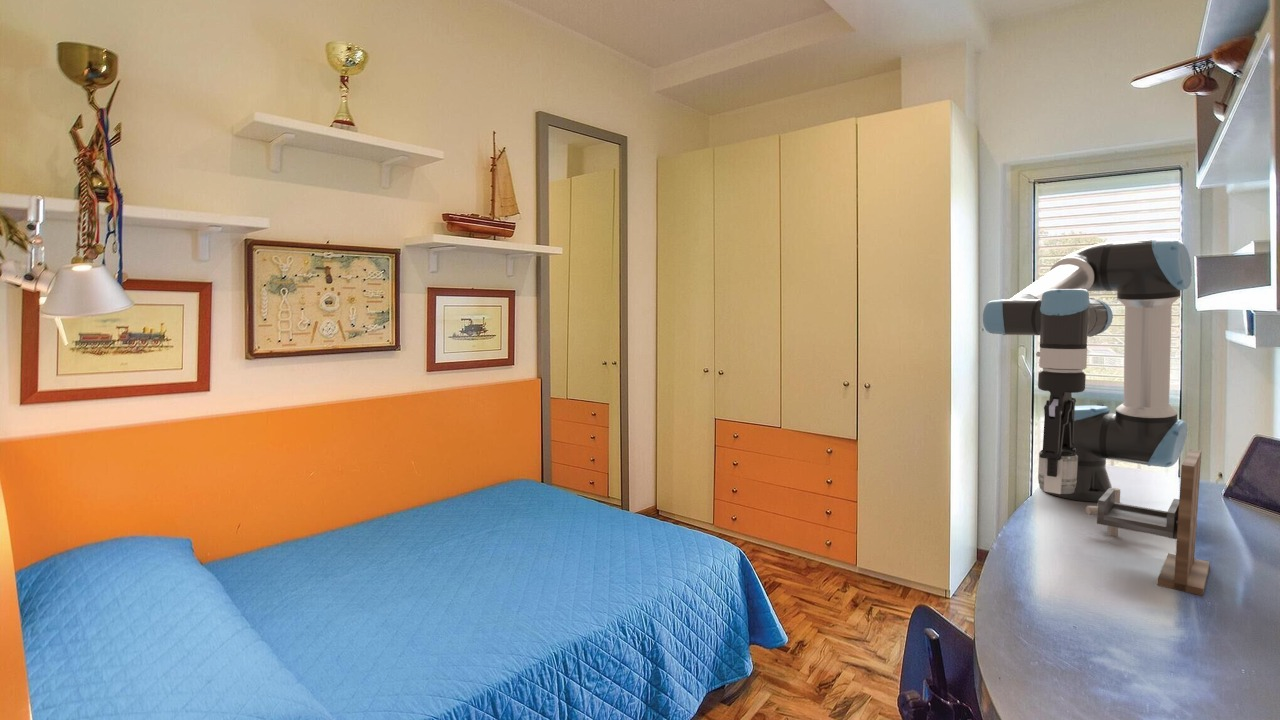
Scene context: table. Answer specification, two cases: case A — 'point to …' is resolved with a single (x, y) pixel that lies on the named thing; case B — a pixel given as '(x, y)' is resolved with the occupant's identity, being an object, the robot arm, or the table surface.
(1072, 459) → the camera lens
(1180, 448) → the robot arm
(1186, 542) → the cup bracket
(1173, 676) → the table surface
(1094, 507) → the pipe connector
